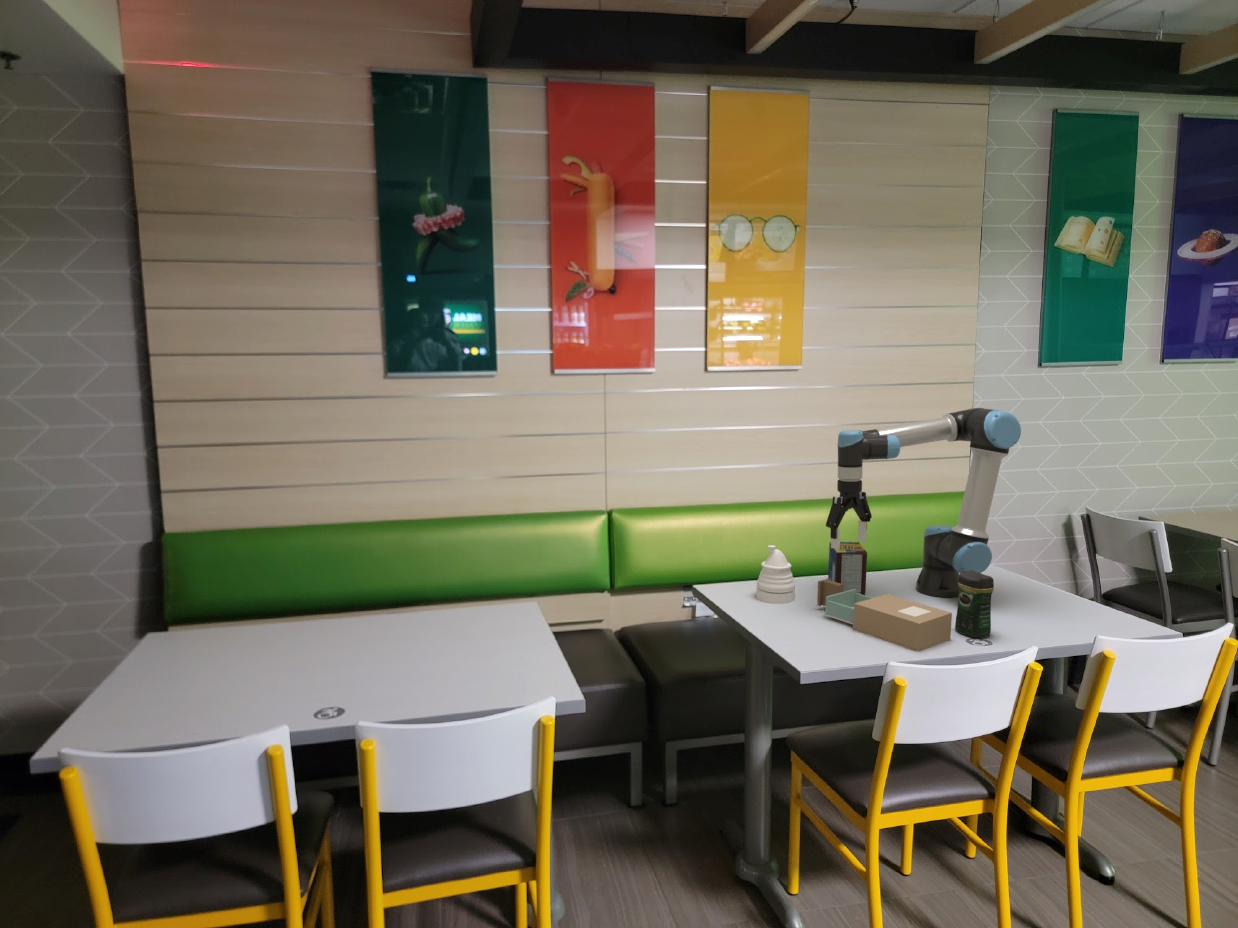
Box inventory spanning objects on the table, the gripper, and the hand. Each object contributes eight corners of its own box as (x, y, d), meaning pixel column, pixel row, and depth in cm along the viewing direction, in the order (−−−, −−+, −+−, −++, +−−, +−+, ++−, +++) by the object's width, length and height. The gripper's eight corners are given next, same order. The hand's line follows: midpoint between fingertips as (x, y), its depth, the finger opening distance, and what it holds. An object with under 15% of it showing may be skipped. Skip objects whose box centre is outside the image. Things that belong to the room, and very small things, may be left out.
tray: (836, 601, 266) (837, 576, 265) (911, 625, 244) (912, 597, 243) (807, 609, 258) (808, 583, 257) (882, 634, 236) (884, 606, 235)
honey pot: (765, 604, 266) (767, 551, 263) (750, 593, 278) (751, 542, 276) (801, 602, 269) (803, 549, 266) (784, 590, 281) (786, 540, 279)
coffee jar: (995, 637, 237) (1000, 575, 234) (974, 640, 234) (978, 578, 232) (970, 626, 246) (974, 567, 243) (949, 629, 243) (953, 569, 241)
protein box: (857, 583, 290) (859, 541, 288) (865, 596, 275) (867, 552, 273) (827, 582, 291) (829, 540, 289) (834, 595, 276) (836, 551, 274)
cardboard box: (885, 618, 253) (886, 593, 251) (950, 639, 235) (952, 612, 234) (852, 628, 243) (854, 603, 242) (917, 651, 226) (919, 623, 224)
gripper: (864, 473, 266) (863, 536, 269) (814, 482, 251) (814, 549, 255) (883, 475, 260) (882, 540, 263) (834, 485, 245) (833, 553, 249)
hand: (848, 544), depth 259 cm, fingers open, 13 cm apart
